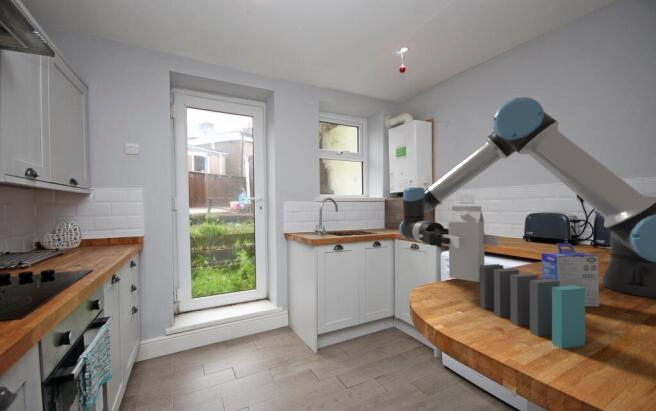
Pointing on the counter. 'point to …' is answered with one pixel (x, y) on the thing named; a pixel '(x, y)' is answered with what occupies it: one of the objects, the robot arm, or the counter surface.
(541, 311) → the domino
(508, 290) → the domino
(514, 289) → the domino
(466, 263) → the milk carton
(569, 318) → the domino
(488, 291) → the domino
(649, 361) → the counter surface
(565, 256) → the ink cartridge box
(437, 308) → the counter surface
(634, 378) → the counter surface
